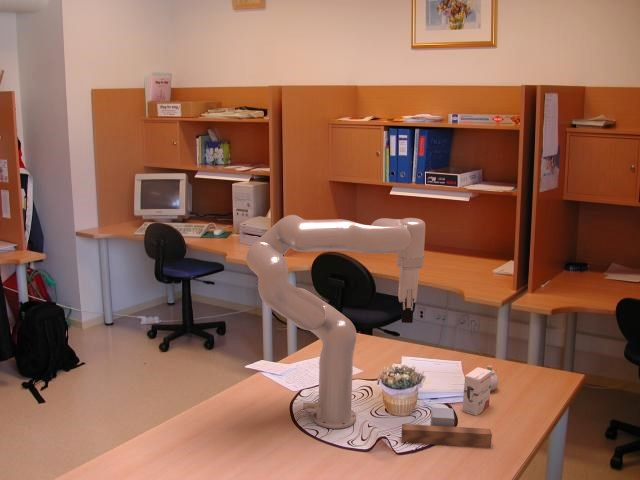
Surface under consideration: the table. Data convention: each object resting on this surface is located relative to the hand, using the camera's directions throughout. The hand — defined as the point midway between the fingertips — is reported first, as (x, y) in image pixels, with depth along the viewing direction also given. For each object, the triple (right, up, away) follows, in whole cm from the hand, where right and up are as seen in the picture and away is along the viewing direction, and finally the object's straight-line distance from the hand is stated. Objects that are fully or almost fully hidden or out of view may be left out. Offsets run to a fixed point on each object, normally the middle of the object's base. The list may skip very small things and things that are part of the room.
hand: (406, 321), depth 212 cm
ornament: (+28, -24, +18) cm, 42 cm away
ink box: (+21, -27, +6) cm, 35 cm away
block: (+9, -30, -8) cm, 32 cm away
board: (+9, -31, -14) cm, 35 cm away
